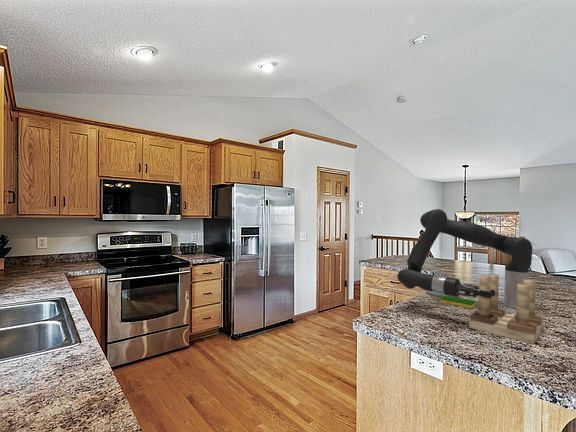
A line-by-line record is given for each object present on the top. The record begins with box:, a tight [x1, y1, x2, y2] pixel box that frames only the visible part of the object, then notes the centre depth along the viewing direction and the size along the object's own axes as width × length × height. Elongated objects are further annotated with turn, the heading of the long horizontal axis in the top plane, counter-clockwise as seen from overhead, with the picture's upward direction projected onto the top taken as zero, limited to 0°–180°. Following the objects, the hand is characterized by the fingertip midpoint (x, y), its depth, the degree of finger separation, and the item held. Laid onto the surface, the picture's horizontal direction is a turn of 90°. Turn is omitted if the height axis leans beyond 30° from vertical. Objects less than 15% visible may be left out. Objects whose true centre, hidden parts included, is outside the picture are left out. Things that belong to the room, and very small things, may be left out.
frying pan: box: [425, 290, 459, 298], centre depth 177 cm, size 17×3×28 cm
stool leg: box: [477, 274, 491, 318], centre depth 122 cm, size 4×4×16 cm
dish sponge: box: [440, 296, 476, 309], centre depth 155 cm, size 7×14×2 cm, turn 44°
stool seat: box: [468, 273, 544, 345], centre depth 122 cm, size 20×20×19 cm
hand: (493, 294), depth 120 cm, fingers closed on stool leg, 3 cm apart
